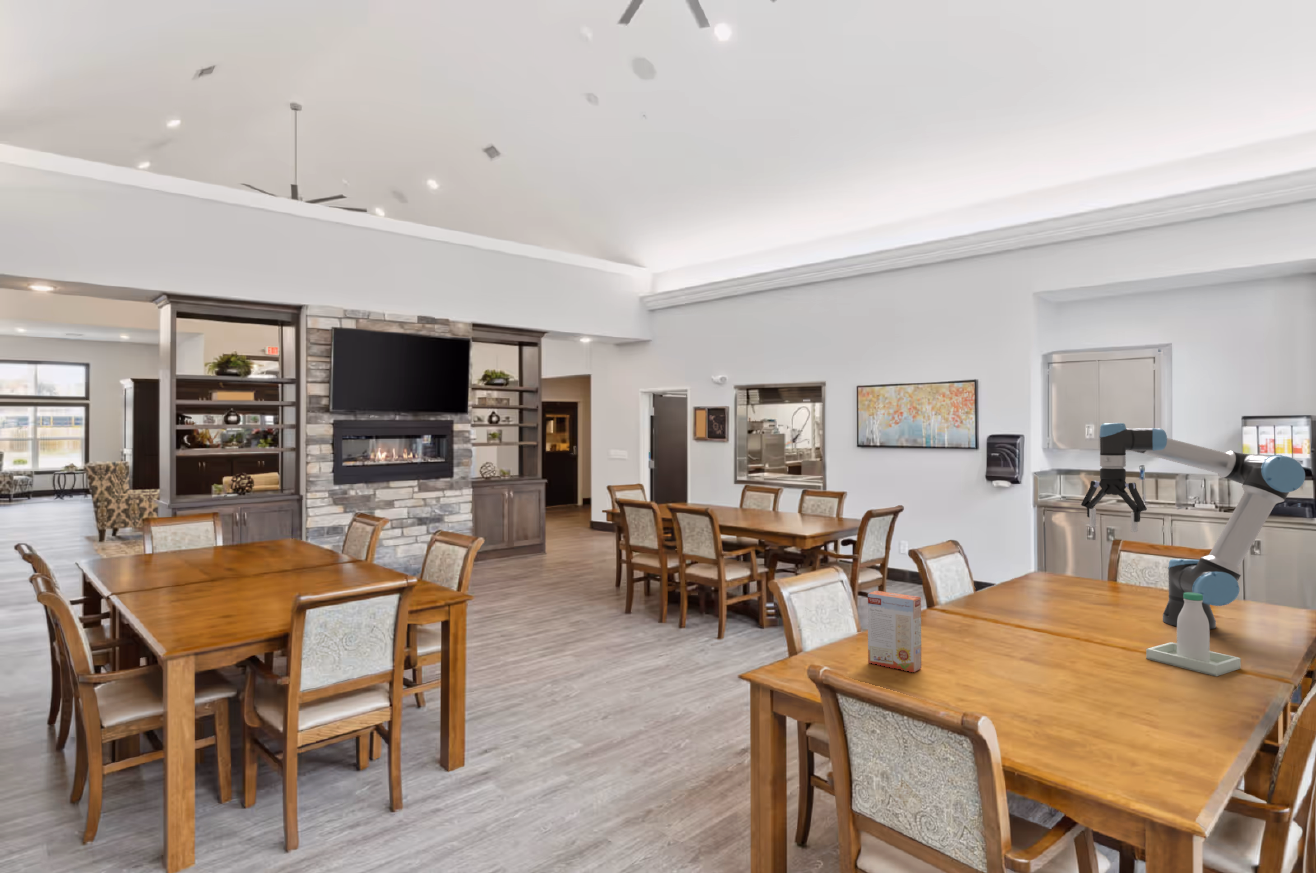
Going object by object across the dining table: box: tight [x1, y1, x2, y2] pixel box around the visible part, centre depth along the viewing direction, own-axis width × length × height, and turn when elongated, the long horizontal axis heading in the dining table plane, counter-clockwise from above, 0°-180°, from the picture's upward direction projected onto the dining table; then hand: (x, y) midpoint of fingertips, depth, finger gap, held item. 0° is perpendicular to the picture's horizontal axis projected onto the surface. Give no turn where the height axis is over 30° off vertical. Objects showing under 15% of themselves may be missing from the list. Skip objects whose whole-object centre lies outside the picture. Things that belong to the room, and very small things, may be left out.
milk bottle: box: [1176, 592, 1211, 663], centre depth 210 cm, size 8×8×20 cm
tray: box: [1145, 641, 1242, 677], centre depth 210 cm, size 14×18×3 cm
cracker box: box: [867, 590, 922, 673], centre depth 209 cm, size 14×6×21 cm, turn 47°
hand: (1113, 529), depth 247 cm, fingers open, 13 cm apart
